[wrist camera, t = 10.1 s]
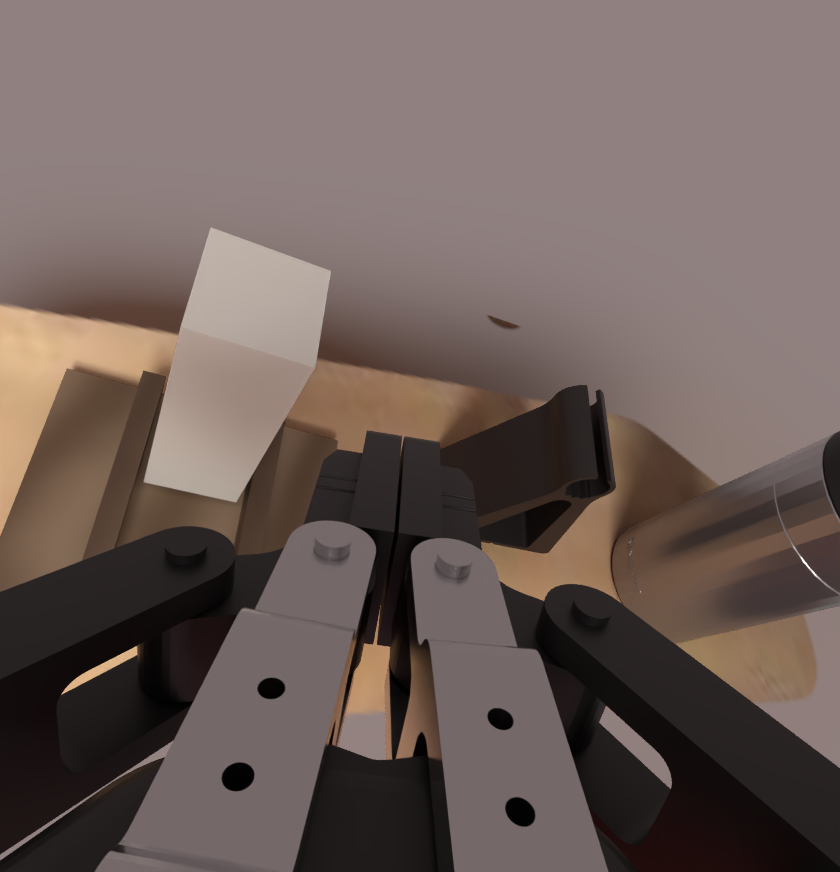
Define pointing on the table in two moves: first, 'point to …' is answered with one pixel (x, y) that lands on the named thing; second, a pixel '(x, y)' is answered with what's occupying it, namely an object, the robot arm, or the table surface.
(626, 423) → the table surface
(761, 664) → the table surface
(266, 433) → the cream block
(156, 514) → the ridged brown base plate
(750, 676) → the table surface
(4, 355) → the table surface
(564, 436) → the phone stand
